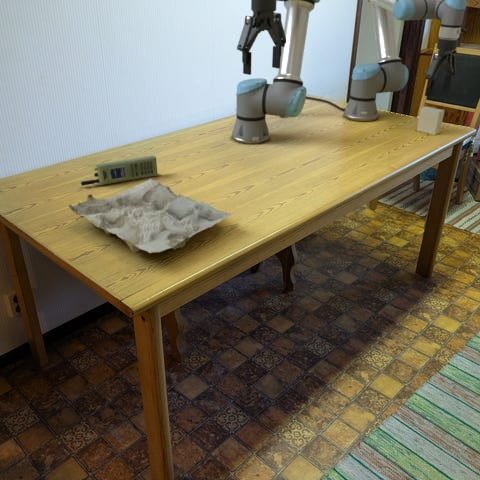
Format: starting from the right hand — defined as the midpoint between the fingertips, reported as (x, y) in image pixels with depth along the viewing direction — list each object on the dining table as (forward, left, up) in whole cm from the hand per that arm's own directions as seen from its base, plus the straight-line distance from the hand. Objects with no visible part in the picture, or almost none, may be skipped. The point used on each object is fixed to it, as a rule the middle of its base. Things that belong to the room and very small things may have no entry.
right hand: (436, 93), depth 208 cm
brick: (-2, +1, -17) cm, 17 cm away
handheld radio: (+29, -129, -17) cm, 133 cm away
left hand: (+28, -82, +17) cm, 88 cm away
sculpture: (+63, -121, -17) cm, 138 cm away
